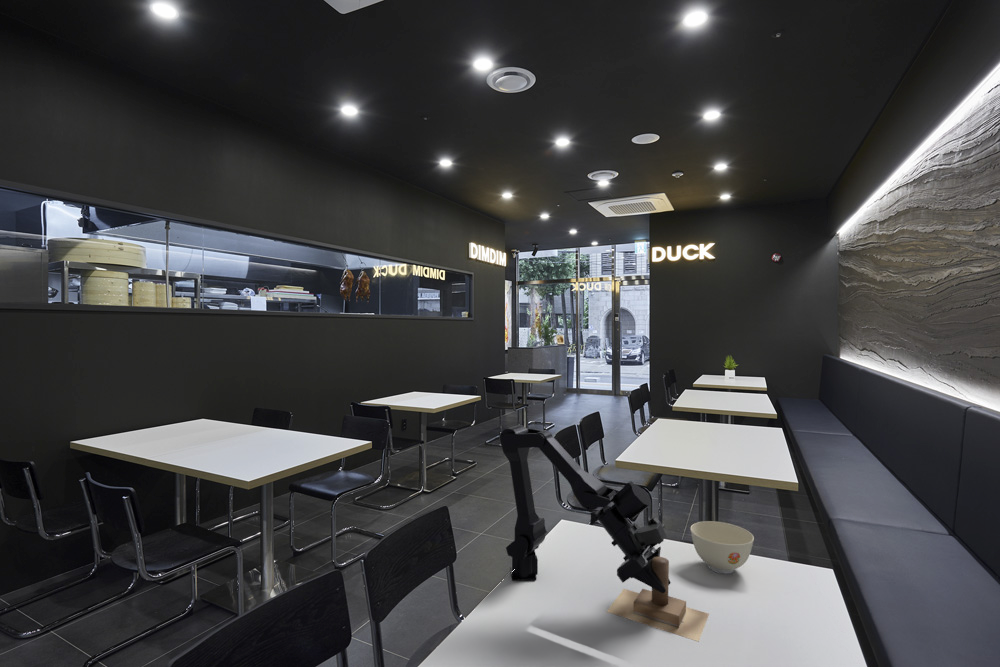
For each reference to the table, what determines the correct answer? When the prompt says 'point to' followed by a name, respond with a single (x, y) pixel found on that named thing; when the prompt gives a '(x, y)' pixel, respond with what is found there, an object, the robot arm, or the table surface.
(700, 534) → the bowl
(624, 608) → the oak board
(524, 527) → the robot arm
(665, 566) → the block
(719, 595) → the table surface
